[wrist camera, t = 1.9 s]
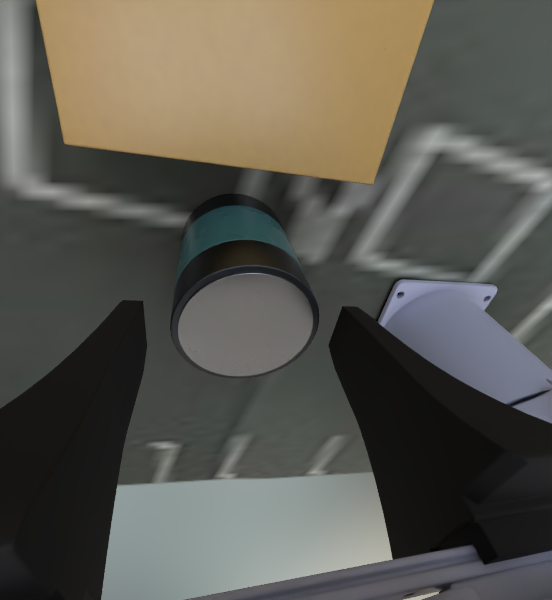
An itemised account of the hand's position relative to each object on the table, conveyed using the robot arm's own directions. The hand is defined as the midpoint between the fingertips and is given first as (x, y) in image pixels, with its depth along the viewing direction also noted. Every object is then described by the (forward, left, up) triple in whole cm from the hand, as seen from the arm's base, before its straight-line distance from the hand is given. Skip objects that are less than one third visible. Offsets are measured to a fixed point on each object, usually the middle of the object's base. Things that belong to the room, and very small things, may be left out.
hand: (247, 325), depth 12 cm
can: (0, 0, -7) cm, 7 cm away
